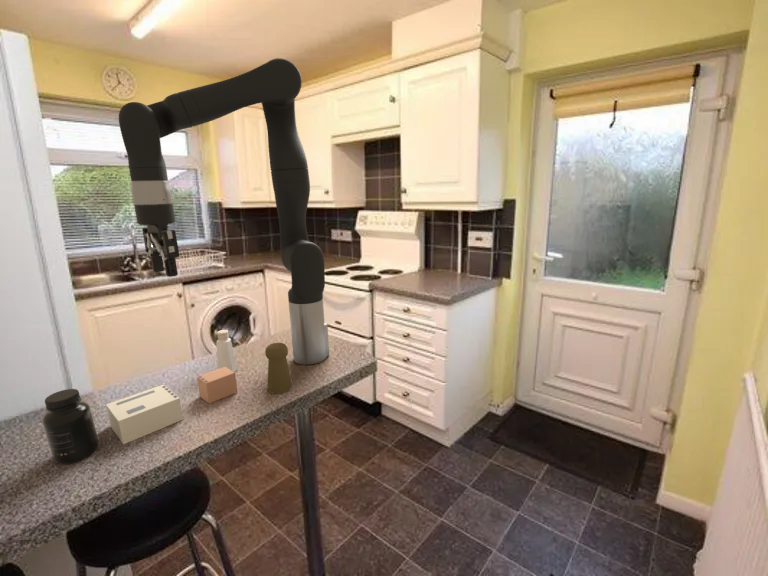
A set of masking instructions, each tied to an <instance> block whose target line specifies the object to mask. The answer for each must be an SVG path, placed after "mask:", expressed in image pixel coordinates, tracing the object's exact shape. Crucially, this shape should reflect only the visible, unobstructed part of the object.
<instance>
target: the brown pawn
mask: <svg viewBox="0 0 768 576" xmlns="http://www.w3.org/2000/svg"><path fill="white" fill-rule="evenodd" d="M264 353H265V354H264V355H265V357H266V358H267V360H268V361H267V362H268V363H267V389H266V390H267V391H268V392H269V393H271V394H282V393H285V392H287V391H289V390H291V389H292V388H293V387H294V385H293V381H292V376H291V372H290V371H291V370H290V368H289V364H288V359H287V356H288V354H289V349H288V346H287V345H286V343H282V342H273V343H271V344H268V345H267V346H266V348H265V352H264Z"/></svg>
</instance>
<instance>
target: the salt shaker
mask: <svg viewBox="0 0 768 576" xmlns="http://www.w3.org/2000/svg"><path fill="white" fill-rule="evenodd" d="M216 335H217V340H216V345H215V346H216V370H217V369H220V368H223V367H227V368H228V369H230V370H232V371H233V372H236V371H238V370H239V368H238V363H237V360H236V355H235V351H234V348H233V343H232V339H231V338H230V337H229V330H227V329H221V330H218V331H217V332H216Z"/></svg>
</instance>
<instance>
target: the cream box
mask: <svg viewBox="0 0 768 576" xmlns="http://www.w3.org/2000/svg"><path fill="white" fill-rule="evenodd" d="M105 407H106V408H105V409H106V410H107V411H106V412H107V416H108V421H109V426H110V427H111V429H112V430H113V432H114V433H115V435H116V436H117V437H118V438H119V440H120V441H121V443H122V445H125V444H127V443H130V442H133V441H136V440H138V439H140V438H142V437H144V436H146V435H149V434H151V433H154V432H157V431H159V430H161V429H164V428H167V427H168V426H171V425H174V424H176V423H178V422H180V421H182V420H184V416H183V409H182V403H181V398H180V397H179V396H178V395H177V394H176V393H174V391H172V390H171V389H170V388H169V387H168V386H167V385H165V384H161V385H158V386H155V387H153V388H150V389H146V390H142V391H140V392H138V393H135V394H133V395H130V396H126V397H123V398H121V399H117V400H115V401H112V402H109V403H107V404H106V403H105Z"/></svg>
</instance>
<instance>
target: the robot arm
mask: <svg viewBox="0 0 768 576" xmlns="http://www.w3.org/2000/svg"><path fill="white" fill-rule="evenodd" d="M302 83H303V79H302V75H301V72H300V70H299V69H298V67H297V66H296V65H295V63H293V62H292V61H290V60H288V59H286V58H280V57H279V58H277V57H275V58H273V59H270V60H269V61H267V62H265V63H263V64H261V65H259V66H258V67H255V68H254V69H252V70H250V71H246V72H244V73H242V74H238V75H235V76H233V77H231V78H227V79H224V80H221V81H217V82H213V83H210V84H205V85H201V86H197V87H193V88H190V89H187V90H182V91H179V92H175V93H171V94H170V95H167V97H165V98H164V99H163V100H161V101H157V102H154V103H150V104H147V105H146V104H144V103H142V102H138V101H130V102H128V103H125V104H123V105H122V107H121V108H120V109H119V111H118V125H119V129H120V135H121V138H122V142H123V144H124V145H123V146H124V148H125V151H126V154H127V162H128V163H127V164H128V168H129V175H130V182H131V196H132V200H133V206H134V211H135V219H136V223H137V224H138V225H139V226H146V227H142V230H141V231H142V235H143V242H144V250H145V253H147V254H148V256H149V257H150V261H151V262H150V263H151V267H152V271H153V273H160V272H164V271H165V275H166V277H169V278H172V277H177V276H178V268H177V258H180V250H179V246H178V240H177V239H178V238H177V233H176V230H175V229H169V226H168V225H170V224H174V223H175V222H176V217H175V216H176V215H175V210H174V209H175V208H174V202H173V198H172V197H173V196H172V190H171V187H170V184H169V178H168V172H167V165H166V161H165V158H164V155H163V153H162V145H161V139H162V138H165V137H167V136H169V135H171V134H174V133H176V132H179V131H181V130H185V129H189V128H193V127H196V126H199V125H200V126H201V125H203V124H206V123H210V122H212V121H215V120H217V119H220V118H223V117H225V116H227V115H229V114H231V113H234V112H236V111H239V110H241V109H244V108H246V107H249V106H253V105H258V104H261V106H262V110H263V114H264V119H265V124H266V129H267V146H268V156H269V157H268V158H269V167H270V169H269V170H270V174H271V181H272V182H271V183H272V188H273V193H274V199H275V205H276V211H277V212H276V213H277V217H278V224H279V243H280V245H279V246H280V248H279V250H280V259H281V262H282V265H283V266H284V268H285V269H286V270H287V271H289V272H291V273H290V274H291V275H290V276H291V277H290V278H291V288H290V289H288V291H287V298H288V309H289V310H288V311H289V323H290V333H291V344H292V356H293V362H294V363H296V364H300V365H315V364H319V363H321V362H323V361H324V360H325V359H326V358H327V357H329V356H330V344H329V343H330V342H329V341H330V340H329V329H328V326H329V325H328V323H326V322H325V313H324V312H325V311H324V297H323V296H324V294H323V293H324V290H325V284H326V283H325V282H326V281H325V279H326V277H325V275H326V274H325V270H326V269H325V257H324V253H323V251H322V249H321V248H320V246H319V245H317V244H316V243H314V242H311V241H310V240H309V235H308V230H307V221H306V220H307V219H306V216H307V211H308V205H309V200H310V195H311V193H310V192H311V183H310V175H309V173H310V172H309V166H308V160H307V156H306V152H305V150H304V147H303V144H302V140H301V138H300V135H299V132H298V129H297V128H298V127H297V122H296V121H297V120H296V110H295V109H296V108H295V107H296V106H295V105H296V103H295V101H296V99H297V97H298V95H299V94H300V92H301V88H302V85H303V84H302Z"/></svg>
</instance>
